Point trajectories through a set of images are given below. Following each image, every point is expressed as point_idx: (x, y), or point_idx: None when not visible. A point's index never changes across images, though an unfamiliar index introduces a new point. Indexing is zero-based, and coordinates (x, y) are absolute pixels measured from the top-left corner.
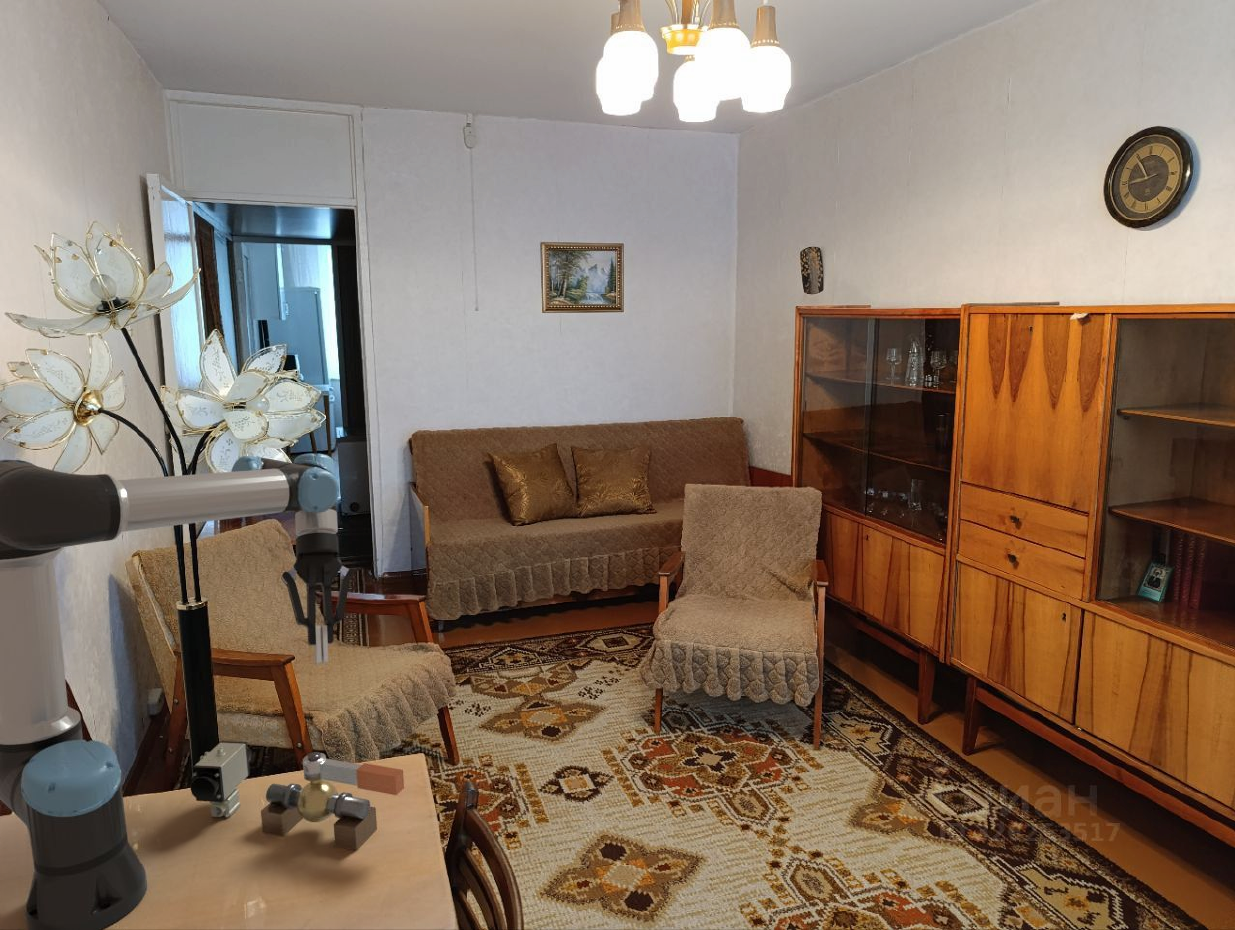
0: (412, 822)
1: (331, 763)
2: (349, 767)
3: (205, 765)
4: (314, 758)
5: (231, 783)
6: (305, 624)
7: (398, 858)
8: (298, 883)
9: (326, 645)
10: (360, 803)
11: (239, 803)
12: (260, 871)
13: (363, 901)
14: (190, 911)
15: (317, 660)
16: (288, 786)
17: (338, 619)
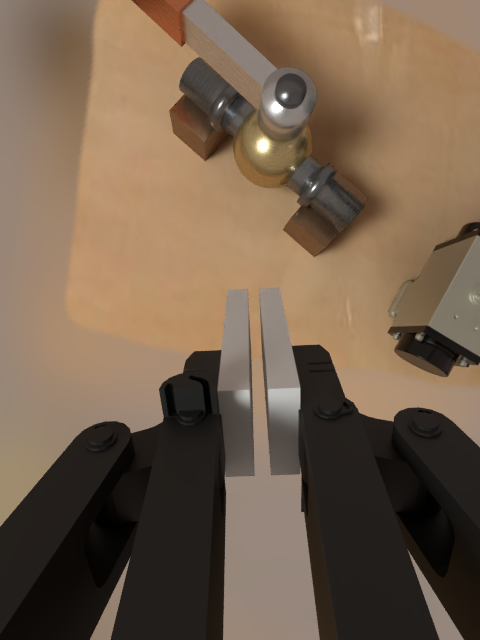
0: (112, 125)
1: (252, 56)
2: (214, 17)
3: None
4: (291, 75)
5: (428, 273)
6: (376, 422)
7: (155, 36)
8: (307, 48)
9: (231, 324)
10: (198, 61)
11: (390, 309)
12: (359, 105)
13: None
14: (451, 57)
15: (277, 291)
16: (328, 178)
17: (119, 424)
